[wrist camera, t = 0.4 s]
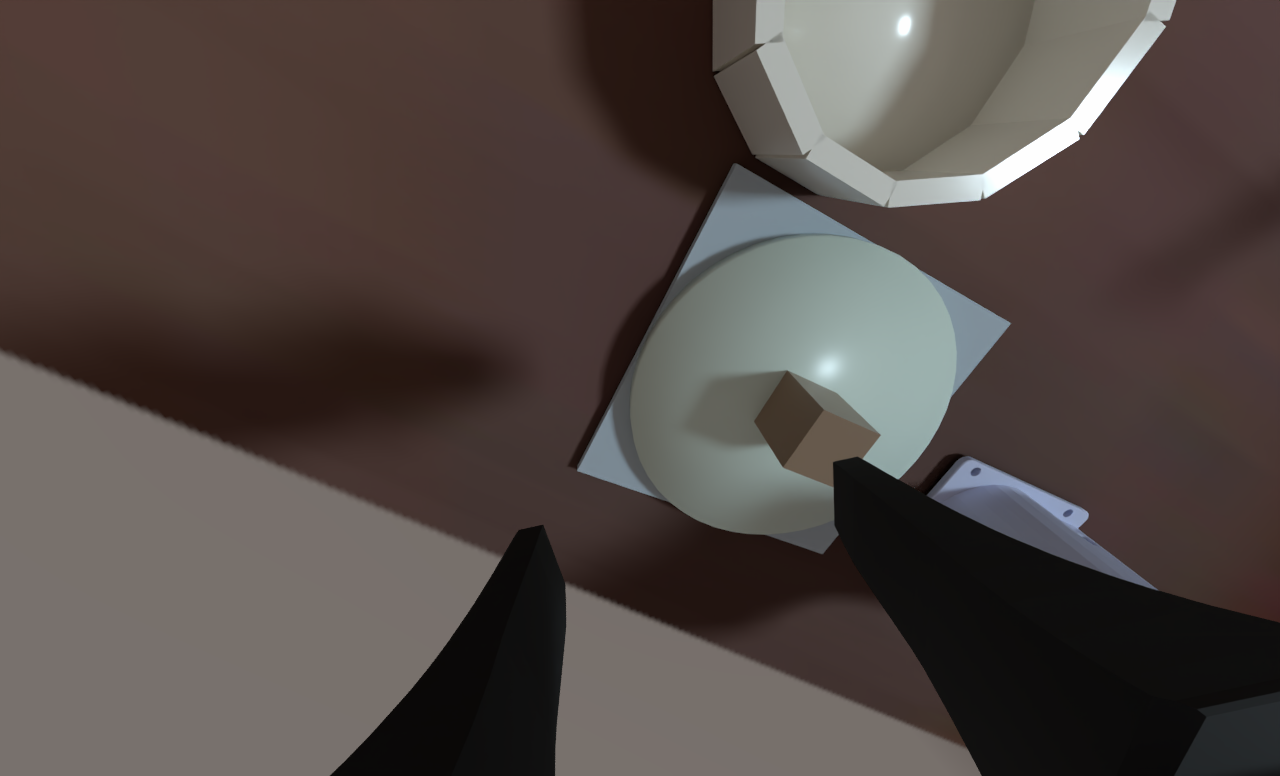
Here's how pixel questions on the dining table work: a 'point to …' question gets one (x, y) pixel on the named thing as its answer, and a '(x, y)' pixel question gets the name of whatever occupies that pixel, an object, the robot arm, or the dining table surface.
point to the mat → (730, 226)
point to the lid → (790, 380)
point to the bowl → (922, 87)
